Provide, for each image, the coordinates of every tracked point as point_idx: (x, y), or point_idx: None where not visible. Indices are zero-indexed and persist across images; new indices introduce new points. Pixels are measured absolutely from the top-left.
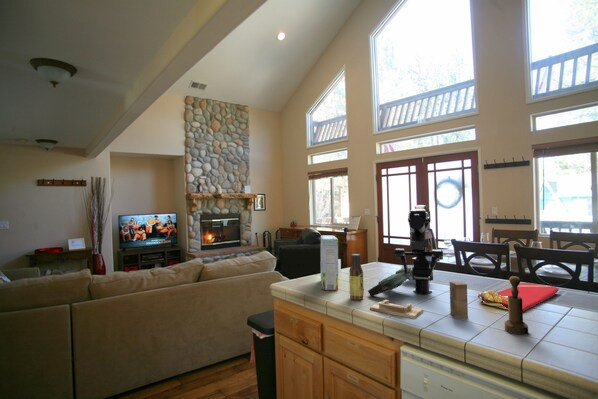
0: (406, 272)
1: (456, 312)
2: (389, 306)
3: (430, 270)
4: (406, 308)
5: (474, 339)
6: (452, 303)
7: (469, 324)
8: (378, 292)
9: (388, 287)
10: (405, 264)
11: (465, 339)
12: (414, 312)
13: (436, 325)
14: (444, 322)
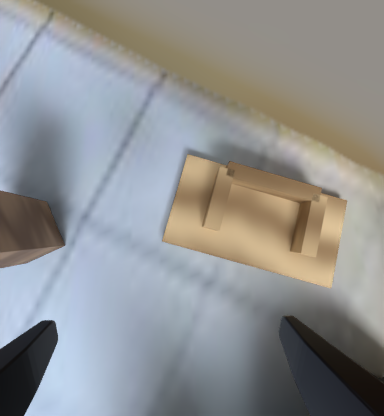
0: (291, 321)
1: (34, 202)
2: (281, 177)
3: (12, 356)
4: (218, 172)
5: (23, 42)
6: (27, 228)
7: (15, 156)
8: None
9: None
10: (378, 406)
11: (47, 36)
12: (189, 191)
13: (119, 117)
14: (93, 151)
